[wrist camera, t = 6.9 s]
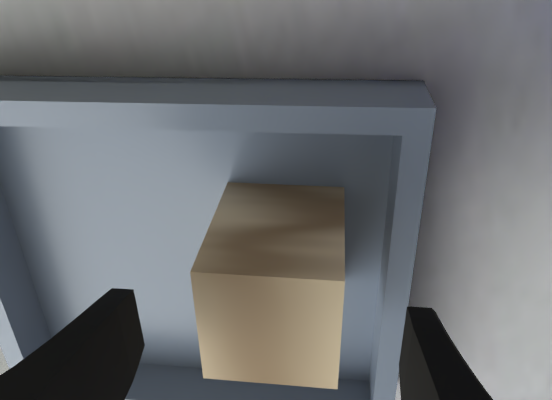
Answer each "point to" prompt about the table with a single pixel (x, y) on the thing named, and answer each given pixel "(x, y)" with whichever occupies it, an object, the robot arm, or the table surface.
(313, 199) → the maple block
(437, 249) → the table surface
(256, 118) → the slate tray
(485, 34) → the table surface
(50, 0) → the table surface
